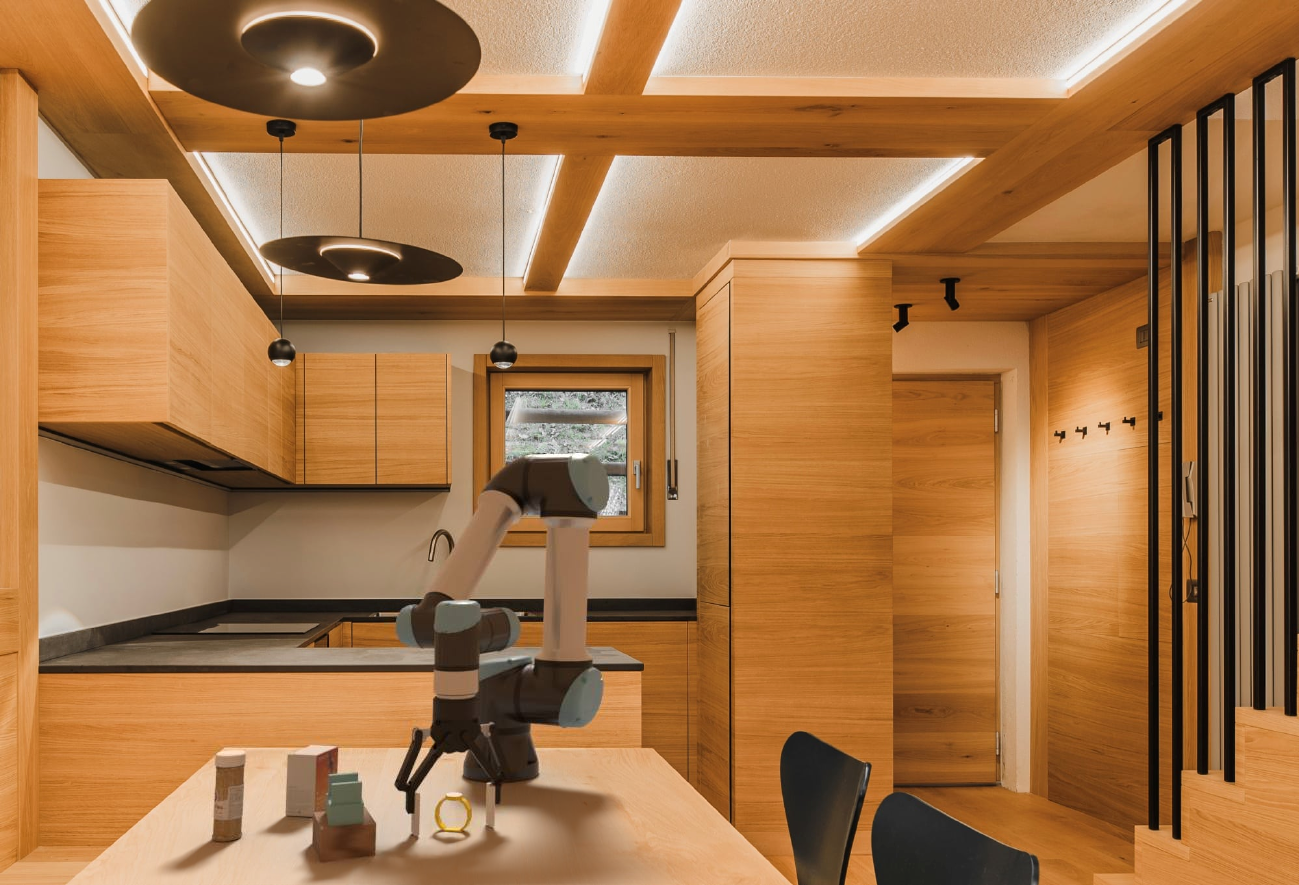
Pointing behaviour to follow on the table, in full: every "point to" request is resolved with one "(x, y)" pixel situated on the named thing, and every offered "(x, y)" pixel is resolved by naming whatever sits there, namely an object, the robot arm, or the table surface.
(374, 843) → the bottom block
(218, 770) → the sprinkles bottle
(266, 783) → the table surface
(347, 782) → the top block
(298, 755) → the small box
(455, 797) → the watch
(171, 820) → the table surface
